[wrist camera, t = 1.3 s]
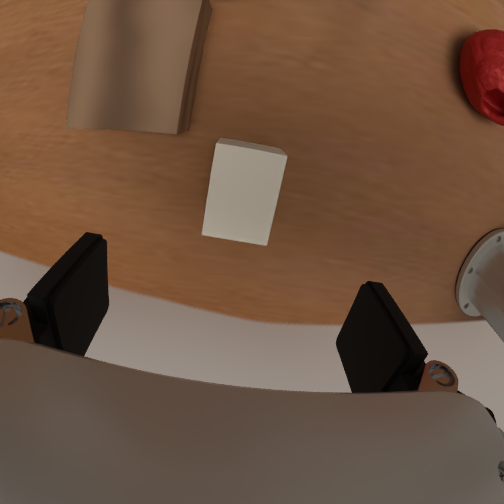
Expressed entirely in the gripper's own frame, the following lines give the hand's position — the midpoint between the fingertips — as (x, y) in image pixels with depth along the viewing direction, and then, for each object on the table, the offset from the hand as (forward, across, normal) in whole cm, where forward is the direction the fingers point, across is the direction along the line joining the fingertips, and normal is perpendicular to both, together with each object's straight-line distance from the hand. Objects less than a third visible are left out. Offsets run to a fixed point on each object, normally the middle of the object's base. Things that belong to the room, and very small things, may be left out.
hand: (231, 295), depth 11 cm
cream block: (+17, -1, 0) cm, 17 cm away
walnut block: (+17, +9, -9) cm, 22 cm away
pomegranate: (+17, -22, -18) cm, 33 cm away
